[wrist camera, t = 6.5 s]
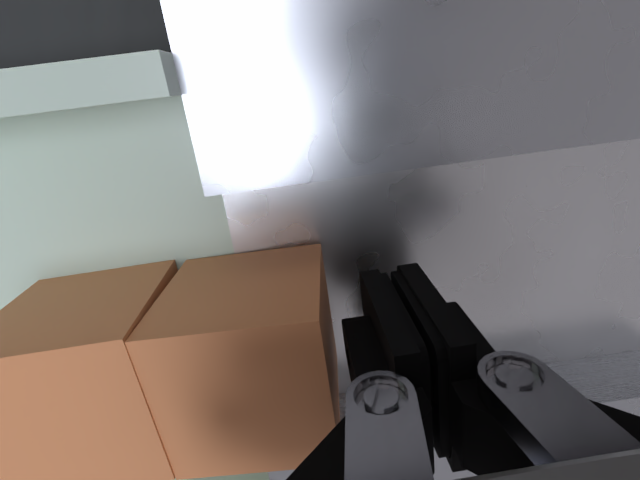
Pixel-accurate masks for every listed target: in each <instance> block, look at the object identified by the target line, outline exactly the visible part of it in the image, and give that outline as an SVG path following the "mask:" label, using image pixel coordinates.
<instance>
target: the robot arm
mask: <svg viewBox="0 0 640 480" xmlns="http://www.w3.org/2000/svg"><path fill="white" fill-rule="evenodd" d="M359 278H360V288H361V297H362V307H363V316H358V317H352V318H345V319H342V320H341V321H342V330H343V338H344V345H345V352H346V358H347V364H348V369H349V374H350V379H351V384H350V385H349V387H348V388H347V392H346V409H345V417H344V418H343V419H342V420H341V421H340V422H339V423H338V424H337V425H336V426H335V427H334V428H333V429H332V430H331V432H330V433H329V434H328V435H327V436H326V437H325V438H324V439H323V440H322V441H321V442H320V443H319V444H318V446H317V447H316V448H315V449H314V450H313V451H312V452H311V453H310V454H309V455H308V456H307V457H306V458H305V459H304V461H303V462H302V463H301V464H300V465H299V466H298V467H297V468H296V469H295V470H294V471H293V472H292V473H291V475H290V476H289V477H288V478H287V479H286V480H434V477H433V475H434V473H435V467H434V449H435V451H436V453H437V456H438V457H439V458H443V457H446V458H447V461H448V463H449V465H450V468H451V470H452V472H458V471H464V470H468V471H470V472H472V473H474V474H476V476H472V477H466V478H460V479H455V480H640V416H637V415H634V414H631V413H628V412H625V411H622V410H619V409H616V408H613V407H610V406H607V405H604V404H601V403H598V402H595V401H592V400H589V399H587V398H586V397H585V396H583V395H582V394H581V393H580V392H579V391H577V390H576V389H575V388H574V387H572V386H571V385H570V384H569V383H568V382H566V381H565V380H564V379H563V378H562V377H560V376H559V375H558V374H557V373H556V372H554V371H553V370H552V369H551V368H550V367H548V366H547V365H546V364H545V363H543V362H542V361H540V360H539V359H537V358H535V357H533V356H530V355H528V354H525V353H521V352H516V351H497V352H496V351H495V350H494V349H493V347H492V346H491V345H490V344H489V342H488V341H487V340H486V339H485V337H484V336H483V335H482V333H481V332H480V331H479V330H478V328H477V327H476V326H475V325H474V323H473V322H472V321H471V320H470V318H469V317H468V316H467V314H466V313H465V312H464V311H463V309H462V308H461V307H460V306H459V304H458V303H456V302H446V301H445V300H444V298H443V297H442V296H441V294H440V293H439V292H438V290H437V289H436V288H435V286H434V285H433V283H432V282H431V281H430V279H429V278H428V277H427V275H426V274H425V273H424V271H423V270H422V269H421V267H420V266H419V265H418V263H411V264H404V265H398V266H397V271H391V280H390V278H389V276H388V274H387V272H385V273H381V272H380V270H379V269H372V270H365V271H359Z"/></svg>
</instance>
